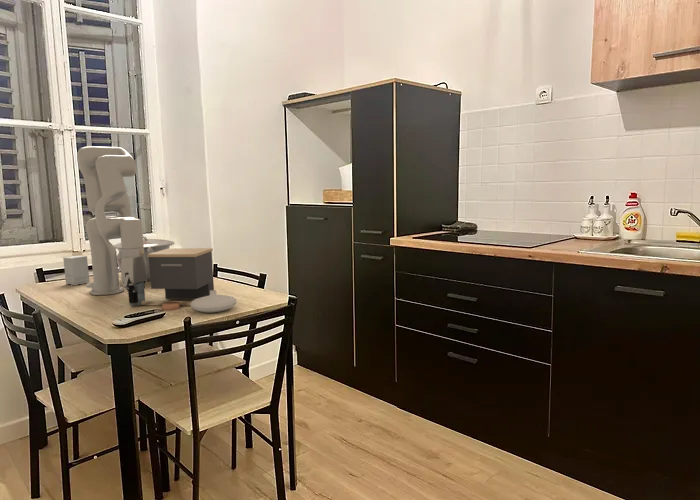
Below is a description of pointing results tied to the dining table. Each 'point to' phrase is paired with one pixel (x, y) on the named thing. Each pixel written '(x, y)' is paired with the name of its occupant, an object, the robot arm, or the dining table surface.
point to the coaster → (170, 306)
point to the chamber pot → (146, 250)
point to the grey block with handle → (142, 301)
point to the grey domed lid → (213, 303)
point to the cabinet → (182, 272)
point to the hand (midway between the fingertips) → (137, 300)
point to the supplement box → (76, 270)
